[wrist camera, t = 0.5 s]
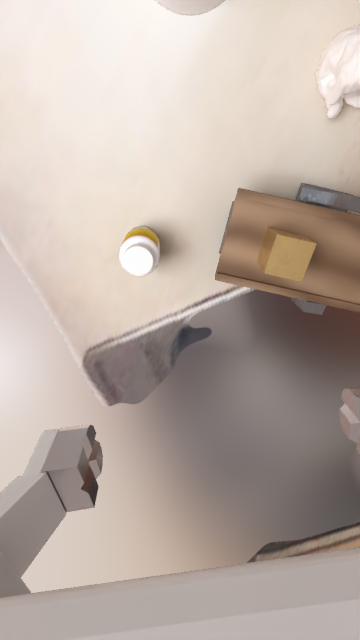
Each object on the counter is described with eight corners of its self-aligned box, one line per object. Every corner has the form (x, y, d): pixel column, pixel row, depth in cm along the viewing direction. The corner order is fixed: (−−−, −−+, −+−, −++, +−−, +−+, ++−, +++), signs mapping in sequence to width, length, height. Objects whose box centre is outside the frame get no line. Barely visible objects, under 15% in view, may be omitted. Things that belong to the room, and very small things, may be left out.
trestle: (241, 168, 45) (261, 169, 36) (348, 194, 47) (393, 200, 38) (212, 278, 52) (223, 301, 43) (307, 295, 54) (336, 320, 45)
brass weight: (267, 226, 40) (276, 234, 34) (301, 234, 40) (316, 243, 34) (256, 261, 42) (263, 273, 36) (289, 268, 42) (301, 281, 36)
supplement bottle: (120, 229, 47) (111, 243, 38) (156, 222, 47) (155, 236, 38) (129, 263, 50) (122, 285, 41) (162, 257, 50) (163, 278, 41)
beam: (237, 187, 40) (239, 188, 38) (457, 238, 41) (475, 242, 38) (214, 273, 45) (215, 279, 43) (410, 318, 46) (423, 326, 43)
